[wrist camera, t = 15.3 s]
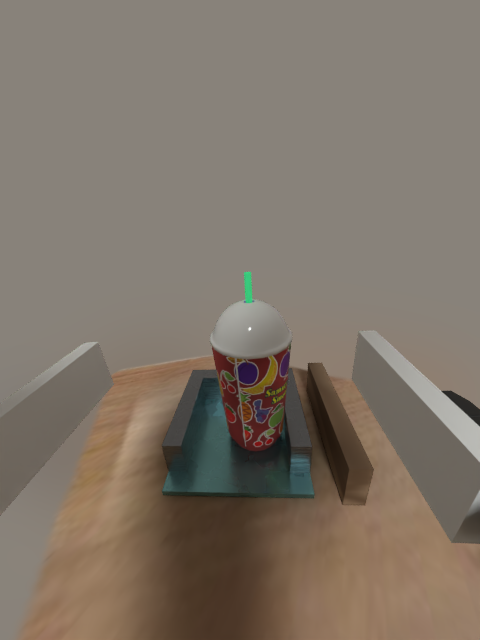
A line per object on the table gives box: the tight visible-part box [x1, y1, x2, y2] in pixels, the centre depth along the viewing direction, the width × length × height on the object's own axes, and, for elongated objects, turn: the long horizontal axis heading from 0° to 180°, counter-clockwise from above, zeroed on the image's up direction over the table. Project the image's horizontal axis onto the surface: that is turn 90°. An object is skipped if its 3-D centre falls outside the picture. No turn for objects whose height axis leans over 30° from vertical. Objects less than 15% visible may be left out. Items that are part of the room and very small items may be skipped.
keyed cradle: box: [162, 368, 315, 498], centre depth 29 cm, size 15×15×4 cm
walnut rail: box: [307, 363, 374, 505], centre depth 28 cm, size 2×16×5 cm, turn 177°
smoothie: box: [210, 272, 292, 451], centre depth 25 cm, size 8×8×20 cm
